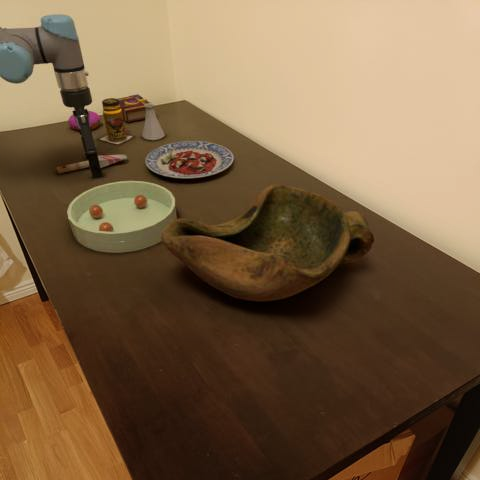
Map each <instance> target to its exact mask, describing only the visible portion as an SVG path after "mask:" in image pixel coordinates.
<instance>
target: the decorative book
mask: <svg viewBox="0 0 480 480" xmlns="http://www.w3.org/2000/svg"><path fill="white" fill-rule="evenodd" d="M117 99H118V100H119V104H120V108H121V109H122V113H123V119H124V122H126V123H131V122H136V121H142V120H145V119H146V109H145V107H144V105H145V104H148V103H151V104H153V103H152V102H151V101H148V99H147V98H144V97H142V95H140V94H139V93H138V94H132V95H128V96H125V97H120V98H119V97H117Z"/></svg>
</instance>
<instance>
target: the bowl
mask: <svg viewBox="0 0 480 480" xmlns="http://www.w3.org/2000/svg"><path fill="white" fill-rule="evenodd" d="M161 239H162V241H161V242H162V244H163V245H164V247H165V248H166V249H167V250H168V251H169V252H170V253H171V254H172V255H173V256H174V257H175V258H177V260H179V261H180V262H181V263H182V264H183V265H185V266H186V267H187V268H188V269H189V270H190V271H192V272H193V273H194V274H195V275H196V276H198V277H199V278H200V279H201V280H202V281H204V282H205V283H207V284H208V285H209V286H211V287H213V288H215V289H216V290H219V291H220V292H222V293H224V294H226V295H228V296H230V297H231V298H234V299H241V300H245V301H250V302H272V301H278V300H283V299H286V298H289V297H292V296H294V295H295V296H296V295H297V294H299V293H302V292H303V291H306V290H307V289H309V288H311V287H313V286H315V285H317V284H319V283H320V282H321V281H323V280H324V279H326V278H327V277H329V275H330V274H332V273H333V272H334V271H335V270H336V268H337V267H338V266H339V265H340V264H350V263H353V262H355V261H358V260H359V259H361V258H364V257H365V256H366V255H367V254H368V253H369V252H370V251H371V249H372V247H373V244H374V243H375V237H374V234H373V232H372V231H371V229H370V227H369V223H368V220H367V218H366V217H365V216H364V215H363V214H361V213H360V212H359V211H356V210H351V211H350V210H349V211H344V210H343V208H341V207H340V206H339V205H338V204H337V203H336V202H334V201H333V200H331V199H328V198H327V197H325V196H323V195H321V194H318V193H316V192H313V191H310V190H306V189H304V188H301V187H297V186H291V185H285V184H280V183H276V184H270V185H268V186H267V187H265V188H264V189H263V190H261V191H260V192H259V193H258V194H257V195H256V197H255V198H254V199H253V200H252V201H251V203H249V205H248V206H247V208H245V209H244V210H243V211H242V212H241V213H240V214H238V215H237V216H235V217H234V218H232V219H230V220H228V221H226V222H222V223H219V224H209V223H205V222H203V221H199V220H195V219H191V218H184V217H183V218H178V217H177V219H176V220H174V221H172V222H170V223H169V224H168V225H167V226H166V227H165V229H164V230H163V232H162V237H161Z"/></svg>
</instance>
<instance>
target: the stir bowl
mask: <svg viewBox="0 0 480 480" xmlns="http://www.w3.org/2000/svg"><path fill="white" fill-rule="evenodd" d="M137 195H143V196H145V197H146V199H147V205H146V206H145V207H144V208H138V207H137V206H136V205H135V203H134V199H135V197H136V196H137ZM92 205H99V206H100V207H101V208H102V209H103V215H102V216H101V217H100V218H93V217H92V216H91V215H90V213H89V209H90V207H91V206H92ZM177 213H178V212H177V203H176V198H175V196H174V194H173V192H172V191H170V190H169V189H167V188H166V187H164V186H161V185H159V184H156V183H153V182H148V181H142V180H140V181H139V180H123V181H121V180H120V181H114V182H109V183H105V184H100V185H97V186H94V187H92V188H90V189H88V190H85V191H83V192H82V193H80V194H79V195H77V196H76V197H75V198H74V199H73V200H72V201H71V202H70V203H69V206H68V208H67V210H66V215H67V218H68V221H69V225H70V228H71V231H72V235H73V236H74V239H75V240H76V241H77V242H78V243H79V244H81V245H82V246H83V247H85V248H87V249H89V250H93V251H96V252H101V253H111V254H113V253H114V254H117V253H120V254H123V253H130V252H137V251H140V250H144V249H147V248H150V247H152V246H155V245H157V244H159V243H161V242H162V239H161V237H162V232H163V230H164V229H165V227H166V226H167V225H168V224H169V223H170V222H172V221H174V220H176V219H178V214H177ZM104 222H108V223H110V224H111V225H112V226H113V229H114V231H113V232H107V231H99V226H100V224H102V223H104Z"/></svg>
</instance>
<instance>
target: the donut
mask: <svg viewBox="0 0 480 480" xmlns="http://www.w3.org/2000/svg"><path fill="white" fill-rule="evenodd" d="M87 111H88V113H89V116H90V119H89V120H90V123H91V131H93V130H95V129H96V128H98V127H99V125H100V122H101V120H102V117H101V116H100V115H99V114H98V113H97V112H96V111H91V110H87ZM67 124H68V125H69V126H70V128H71V129H73V130H76V131H79V129H78V126H77V123H76V121H75V118H74V115H73V114H71V115H70V116H69V118H68V121H67Z"/></svg>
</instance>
